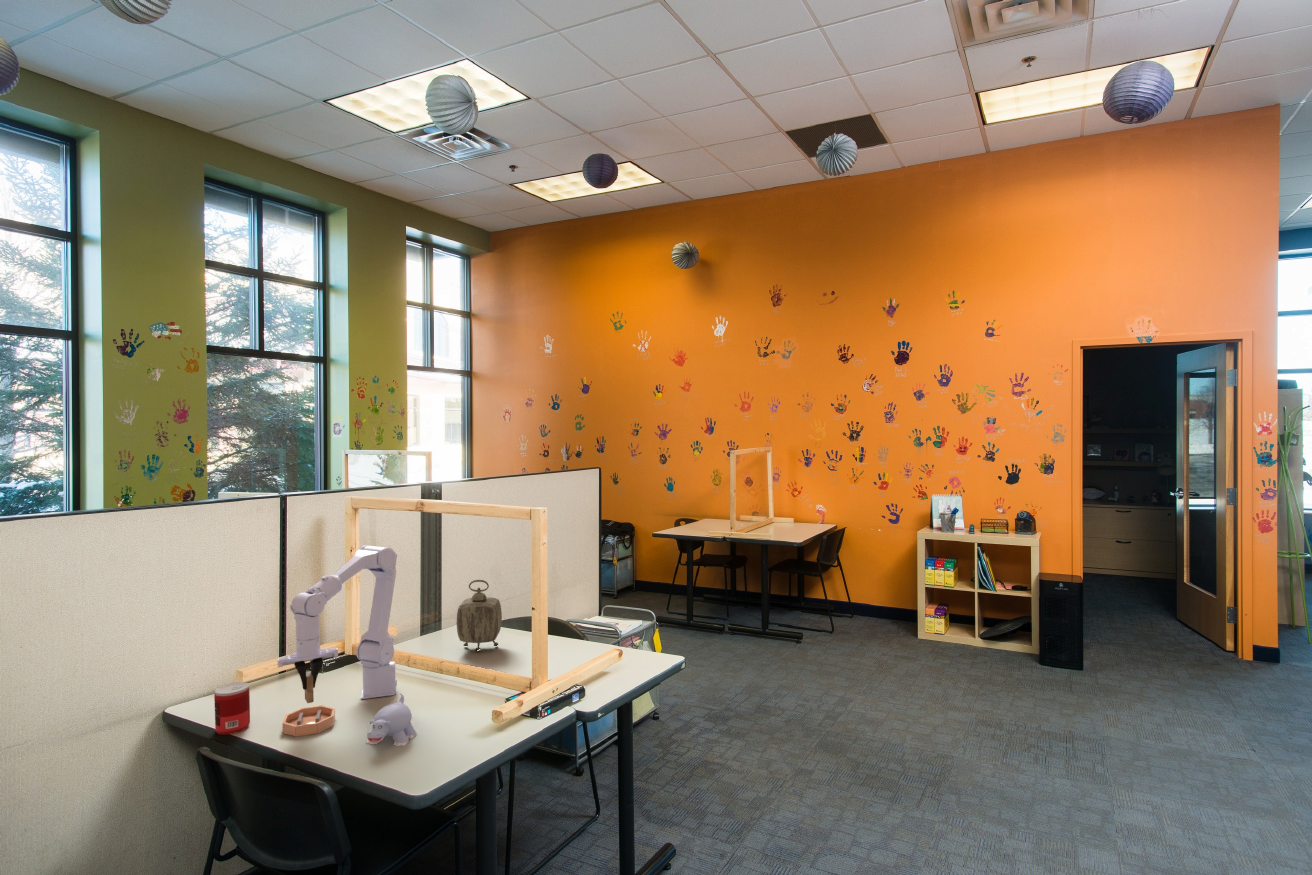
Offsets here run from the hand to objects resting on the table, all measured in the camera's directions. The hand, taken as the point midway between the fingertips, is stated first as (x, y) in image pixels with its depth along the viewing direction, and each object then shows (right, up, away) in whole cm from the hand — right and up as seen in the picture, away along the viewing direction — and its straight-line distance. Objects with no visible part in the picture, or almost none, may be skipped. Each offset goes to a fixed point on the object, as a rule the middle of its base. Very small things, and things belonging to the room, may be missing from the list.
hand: (308, 687), depth 187 cm
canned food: (-19, -10, -2) cm, 22 cm away
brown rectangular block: (0, -3, 0) cm, 3 cm away
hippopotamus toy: (+25, -11, -10) cm, 29 cm away
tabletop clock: (+31, -8, +59) cm, 67 cm away
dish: (0, -10, 0) cm, 10 cm away
